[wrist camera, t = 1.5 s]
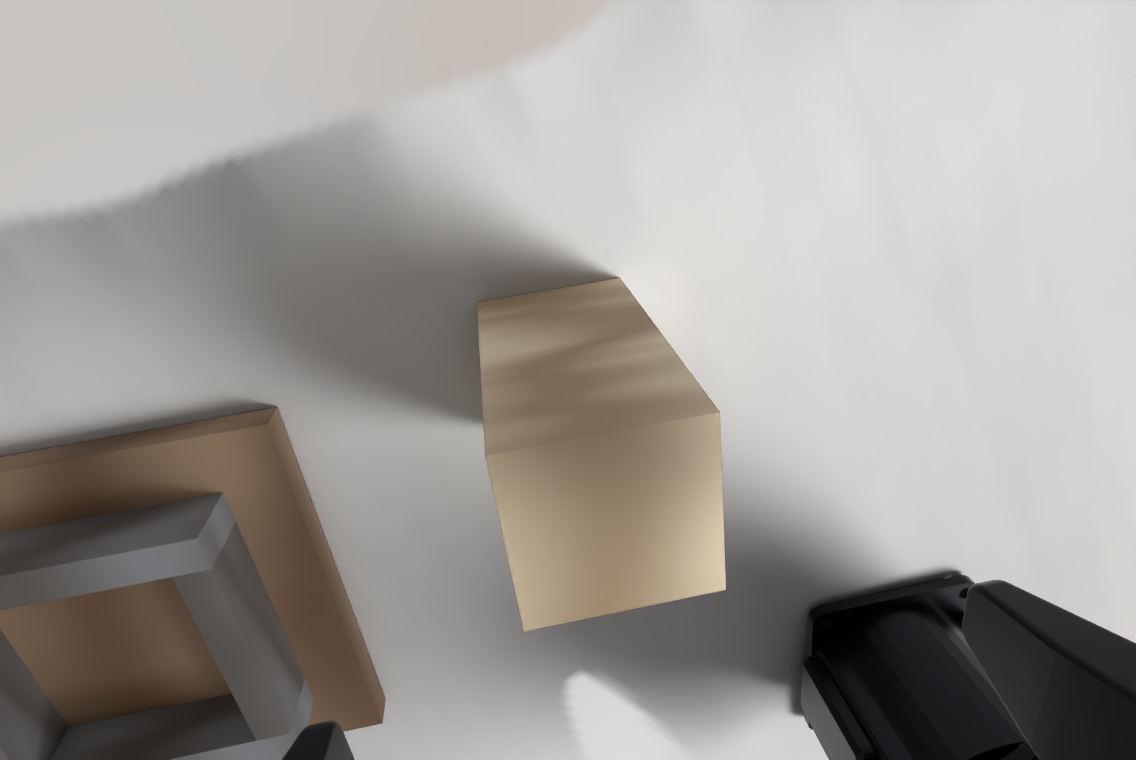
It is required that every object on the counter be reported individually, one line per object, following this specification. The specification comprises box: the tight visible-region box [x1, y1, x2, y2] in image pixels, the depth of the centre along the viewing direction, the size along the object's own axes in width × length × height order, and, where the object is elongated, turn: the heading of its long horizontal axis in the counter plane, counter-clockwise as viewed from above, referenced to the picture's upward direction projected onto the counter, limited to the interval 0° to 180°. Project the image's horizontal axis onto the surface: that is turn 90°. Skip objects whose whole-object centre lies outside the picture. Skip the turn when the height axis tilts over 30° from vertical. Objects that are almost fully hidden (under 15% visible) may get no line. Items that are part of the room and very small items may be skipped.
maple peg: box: [477, 278, 726, 632], centre depth 16 cm, size 4×4×8 cm
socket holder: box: [0, 407, 385, 760], centre depth 19 cm, size 12×12×3 cm
